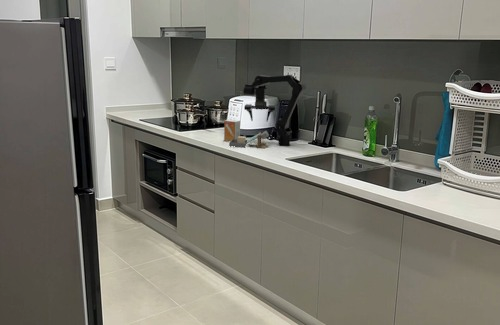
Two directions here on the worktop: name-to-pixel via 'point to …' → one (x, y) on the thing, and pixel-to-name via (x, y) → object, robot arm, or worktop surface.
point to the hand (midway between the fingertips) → (259, 121)
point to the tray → (234, 143)
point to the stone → (241, 139)
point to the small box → (231, 130)
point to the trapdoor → (263, 135)
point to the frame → (259, 144)
